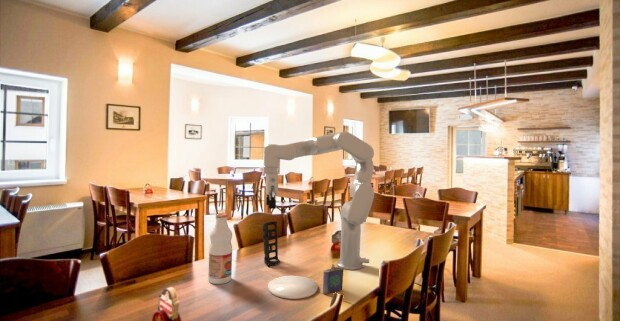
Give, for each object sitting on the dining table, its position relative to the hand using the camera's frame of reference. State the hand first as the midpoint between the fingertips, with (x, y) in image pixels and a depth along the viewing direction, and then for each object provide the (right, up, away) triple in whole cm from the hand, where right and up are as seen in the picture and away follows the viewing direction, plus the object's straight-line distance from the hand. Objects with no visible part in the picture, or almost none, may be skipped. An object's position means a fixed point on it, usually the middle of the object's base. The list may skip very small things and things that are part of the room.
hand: (270, 206), depth 154 cm
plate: (+11, -30, -22) cm, 39 cm away
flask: (+27, -31, -23) cm, 47 cm away
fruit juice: (-20, -29, -16) cm, 39 cm away
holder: (-1, -29, +6) cm, 30 cm away
